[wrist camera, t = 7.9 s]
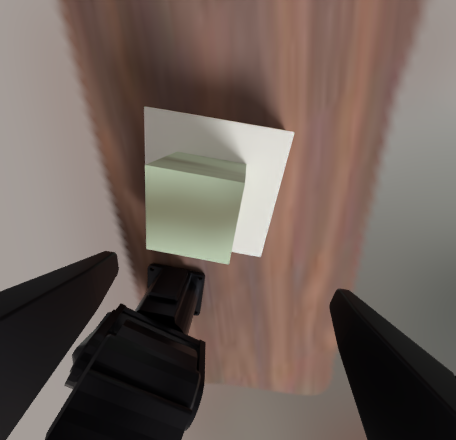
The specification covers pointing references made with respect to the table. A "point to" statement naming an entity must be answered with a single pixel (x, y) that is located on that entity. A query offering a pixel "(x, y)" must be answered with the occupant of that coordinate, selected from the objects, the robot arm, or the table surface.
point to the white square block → (230, 151)
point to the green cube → (193, 205)
